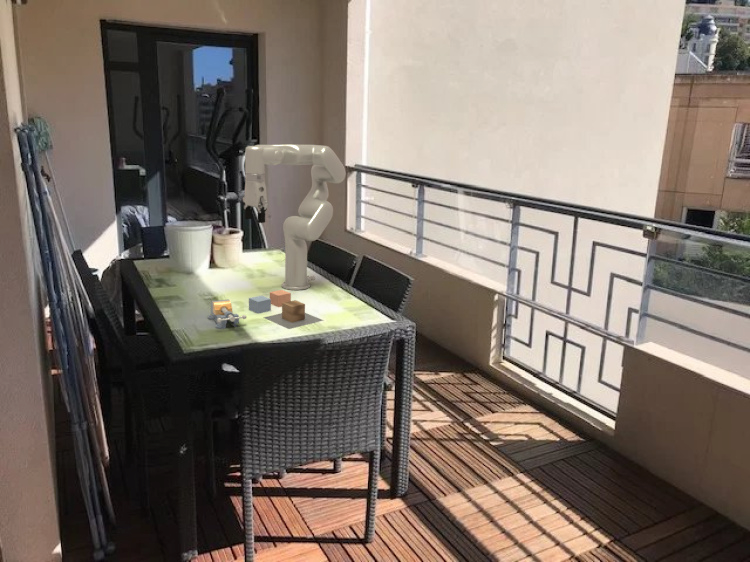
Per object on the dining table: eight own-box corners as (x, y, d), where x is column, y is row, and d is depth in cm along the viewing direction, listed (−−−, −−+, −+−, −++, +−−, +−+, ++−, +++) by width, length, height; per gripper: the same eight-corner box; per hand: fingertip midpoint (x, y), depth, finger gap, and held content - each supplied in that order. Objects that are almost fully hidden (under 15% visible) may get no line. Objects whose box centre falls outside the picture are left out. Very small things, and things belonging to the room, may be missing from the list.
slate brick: (261, 310, 244) (261, 295, 242) (270, 313, 240) (270, 299, 238) (248, 312, 240) (248, 298, 238) (257, 316, 236) (257, 301, 234)
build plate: (297, 312, 242) (297, 309, 242) (323, 323, 231) (323, 320, 231) (263, 320, 231) (263, 317, 231) (288, 332, 221) (288, 329, 220)
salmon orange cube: (281, 303, 253) (281, 289, 251) (290, 307, 249) (290, 293, 247) (269, 306, 249) (269, 292, 247) (278, 310, 244) (278, 295, 243)
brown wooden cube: (294, 315, 235) (295, 300, 234) (304, 319, 231) (305, 304, 230) (282, 318, 231) (282, 302, 230) (291, 322, 227) (291, 306, 225)
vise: (205, 317, 233) (205, 300, 231) (232, 314, 238) (232, 297, 236) (218, 332, 217) (217, 314, 216) (247, 329, 222) (246, 311, 221)
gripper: (275, 180, 242) (274, 223, 246) (251, 175, 254) (251, 217, 259) (258, 180, 237) (258, 224, 241) (235, 176, 249) (235, 218, 254)
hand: (254, 220), depth 250 cm, fingers open, 9 cm apart
